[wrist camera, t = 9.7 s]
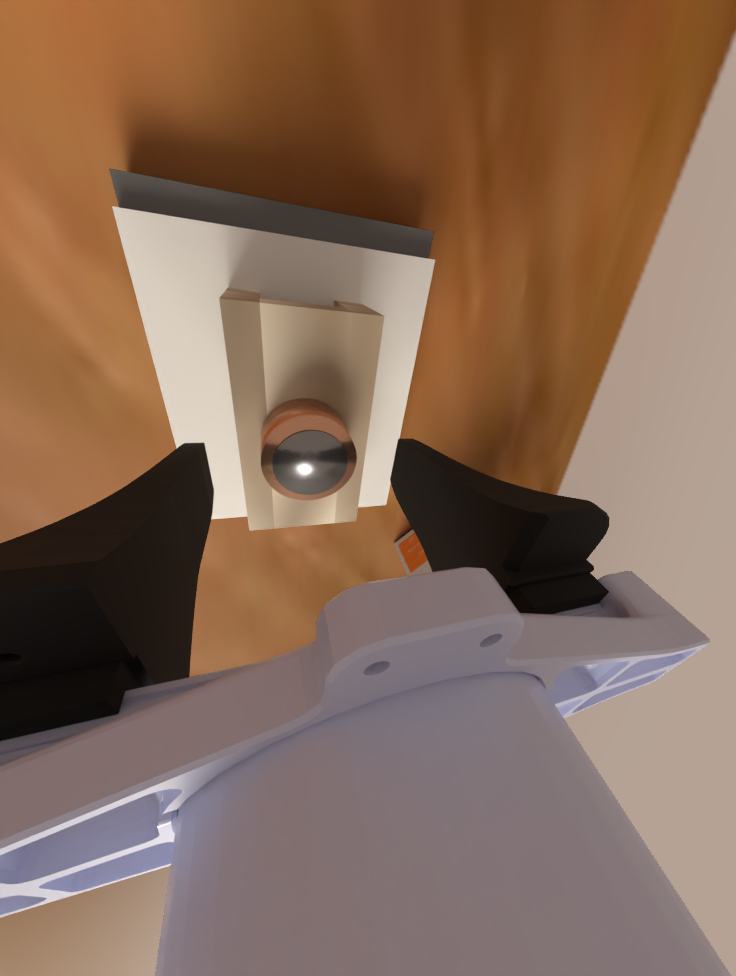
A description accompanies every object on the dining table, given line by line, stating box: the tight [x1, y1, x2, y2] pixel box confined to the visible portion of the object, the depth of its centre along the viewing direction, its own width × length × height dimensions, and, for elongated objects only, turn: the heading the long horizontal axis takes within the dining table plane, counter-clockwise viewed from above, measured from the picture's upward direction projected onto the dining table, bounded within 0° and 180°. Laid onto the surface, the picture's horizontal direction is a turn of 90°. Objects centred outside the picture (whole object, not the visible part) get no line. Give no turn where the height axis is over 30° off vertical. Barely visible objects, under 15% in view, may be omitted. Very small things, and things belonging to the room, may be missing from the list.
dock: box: [109, 168, 435, 519], centre depth 17 cm, size 12×15×2 cm
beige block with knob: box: [219, 288, 384, 531], centre depth 15 cm, size 6×10×4 cm, turn 172°
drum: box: [261, 398, 357, 500], centre depth 13 cm, size 4×4×2 cm
